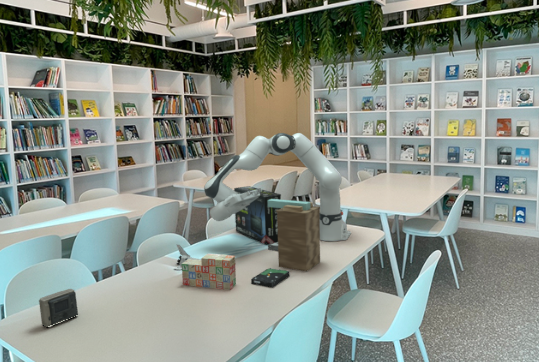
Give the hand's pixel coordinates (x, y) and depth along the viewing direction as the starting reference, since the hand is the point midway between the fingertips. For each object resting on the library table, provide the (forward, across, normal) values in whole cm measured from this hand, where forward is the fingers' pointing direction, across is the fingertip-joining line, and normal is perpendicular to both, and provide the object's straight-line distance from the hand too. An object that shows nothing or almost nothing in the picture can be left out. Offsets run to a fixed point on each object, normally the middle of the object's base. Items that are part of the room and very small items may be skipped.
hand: (255, 191), depth 208 cm
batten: (+13, -2, +15) cm, 20 cm away
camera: (-35, -90, +18) cm, 98 cm away
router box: (-33, +30, +19) cm, 48 cm away
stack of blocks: (-14, -39, +30) cm, 51 cm away
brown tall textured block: (+5, -1, +40) cm, 40 cm away
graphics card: (-12, +23, +31) cm, 40 cm away
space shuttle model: (-30, -24, +21) cm, 44 cm away
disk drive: (+3, -23, +40) cm, 46 cm away
